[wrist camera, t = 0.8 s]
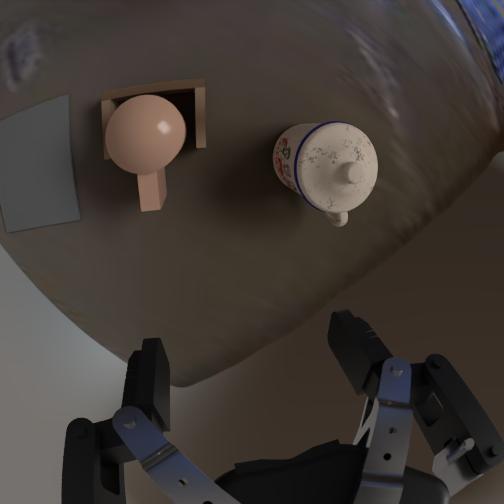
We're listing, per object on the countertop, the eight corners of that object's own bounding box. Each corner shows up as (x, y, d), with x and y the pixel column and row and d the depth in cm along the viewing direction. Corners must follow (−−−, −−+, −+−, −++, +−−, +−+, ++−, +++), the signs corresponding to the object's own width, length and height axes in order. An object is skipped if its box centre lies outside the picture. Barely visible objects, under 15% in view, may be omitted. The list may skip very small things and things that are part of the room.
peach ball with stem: (126, 108, 25) (103, 102, 18) (186, 100, 26) (182, 90, 19) (132, 195, 29) (114, 216, 22) (190, 189, 30) (188, 208, 23)
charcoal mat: (-7, 125, 19) (-9, 125, 19) (69, 94, 22) (68, 94, 22) (8, 232, 26) (6, 233, 26) (81, 219, 29) (80, 220, 28)
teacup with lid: (259, 134, 29) (293, 136, 19) (327, 114, 29) (384, 113, 19) (288, 223, 35) (327, 265, 24) (348, 199, 35) (402, 230, 25)
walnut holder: (109, 95, 23) (101, 92, 21) (204, 83, 25) (205, 78, 23) (112, 156, 27) (104, 159, 24) (205, 146, 29) (206, 147, 26)
